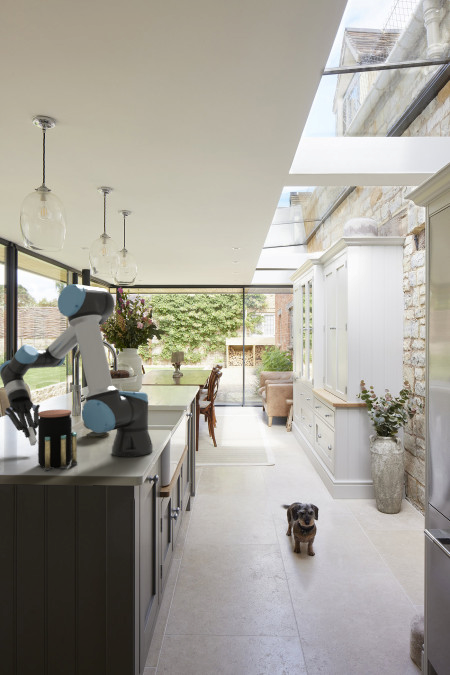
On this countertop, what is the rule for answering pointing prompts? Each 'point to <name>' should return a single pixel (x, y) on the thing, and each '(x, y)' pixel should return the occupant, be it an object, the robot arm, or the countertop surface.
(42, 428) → the coffee jar
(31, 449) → the countertop surface
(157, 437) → the countertop surface
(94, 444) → the countertop surface
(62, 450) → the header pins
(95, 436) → the apothecary jar
